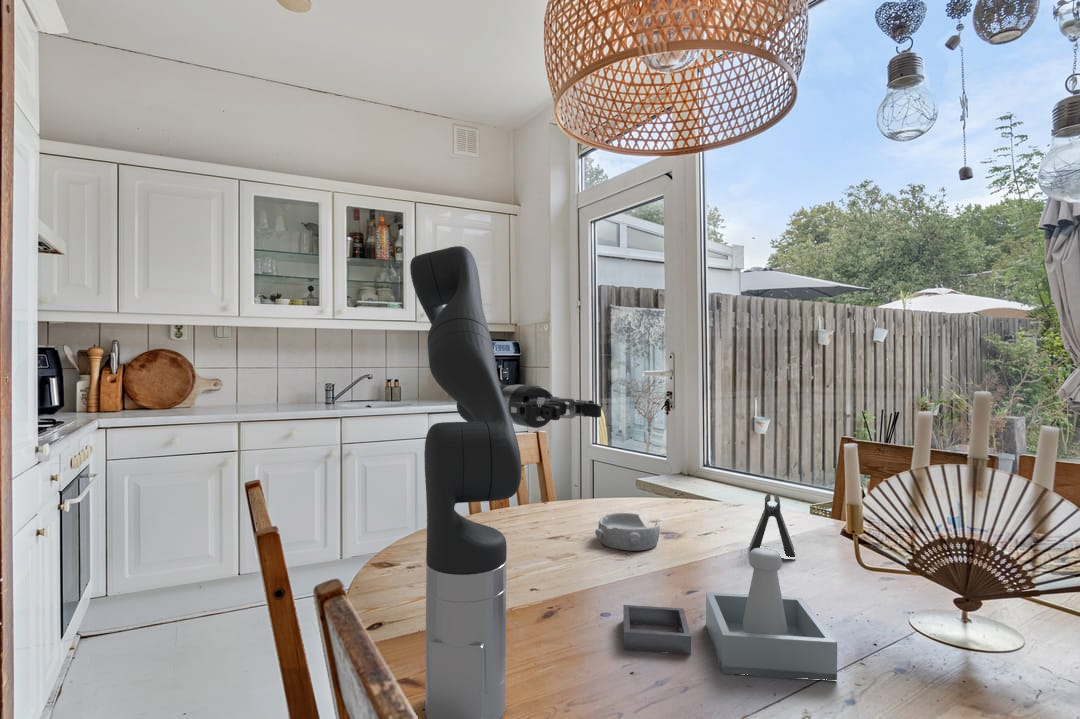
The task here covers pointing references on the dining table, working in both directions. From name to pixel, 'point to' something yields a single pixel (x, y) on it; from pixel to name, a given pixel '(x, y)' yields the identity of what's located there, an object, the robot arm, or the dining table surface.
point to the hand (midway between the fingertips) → (579, 412)
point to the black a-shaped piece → (783, 530)
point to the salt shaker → (765, 595)
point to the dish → (627, 532)
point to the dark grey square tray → (654, 639)
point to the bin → (770, 641)
